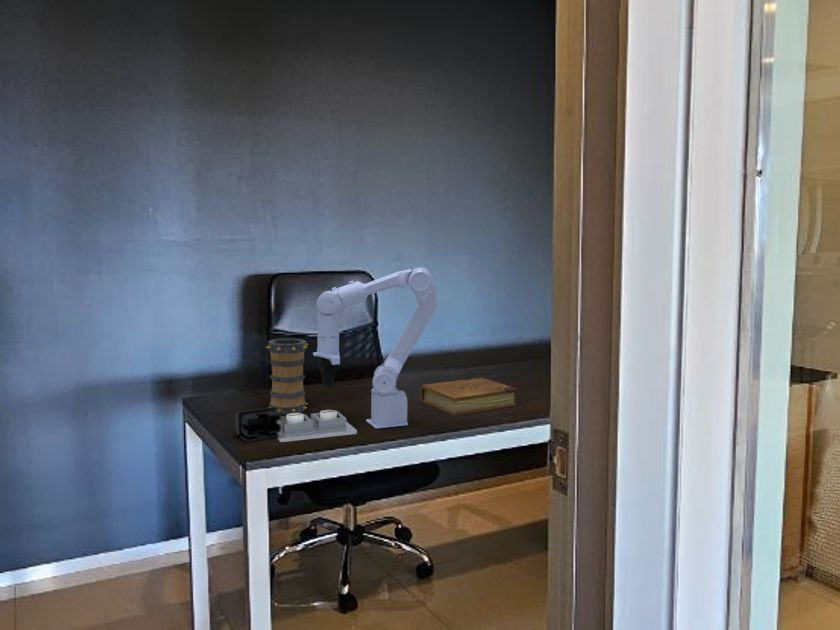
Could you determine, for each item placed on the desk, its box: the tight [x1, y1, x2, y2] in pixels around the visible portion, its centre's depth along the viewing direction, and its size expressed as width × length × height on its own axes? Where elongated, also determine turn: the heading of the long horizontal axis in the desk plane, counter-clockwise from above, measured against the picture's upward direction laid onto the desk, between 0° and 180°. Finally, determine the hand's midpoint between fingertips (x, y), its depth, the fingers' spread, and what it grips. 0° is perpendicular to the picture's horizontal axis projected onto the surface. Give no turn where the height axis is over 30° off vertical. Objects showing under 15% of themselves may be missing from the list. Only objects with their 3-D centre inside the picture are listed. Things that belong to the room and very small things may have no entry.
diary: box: [419, 377, 519, 416], centre depth 224 cm, size 23×19×6 cm
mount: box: [275, 410, 358, 443], centre depth 193 cm, size 20×14×4 cm
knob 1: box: [285, 412, 304, 423], centre depth 191 cm, size 4×4×4 cm
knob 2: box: [319, 409, 338, 419], centre depth 195 cm, size 4×4×4 cm
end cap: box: [234, 406, 282, 443], centre depth 187 cm, size 10×7×7 cm
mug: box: [265, 337, 309, 415], centre depth 214 cm, size 13×17×20 cm
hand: (327, 385), depth 199 cm, fingers closed
